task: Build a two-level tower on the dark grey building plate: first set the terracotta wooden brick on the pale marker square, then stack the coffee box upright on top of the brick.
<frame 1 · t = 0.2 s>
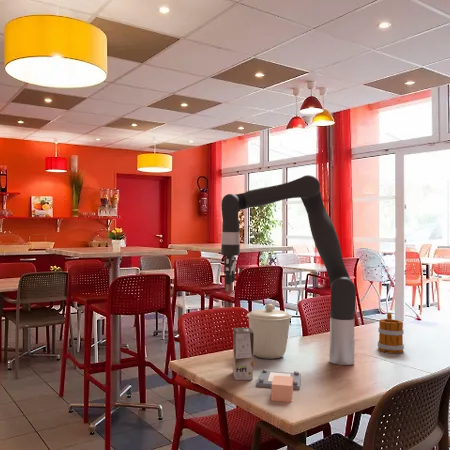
hand: (229, 283, 198), 29 cm above the table, tool pointing down, fingers open, 8 cm apart
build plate: (279, 381, 165), on the table
canister: (268, 356, 198), on the table
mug: (390, 349, 212), on the table
brick: (282, 396, 150), on the table
coffee box: (242, 376, 170), on the table
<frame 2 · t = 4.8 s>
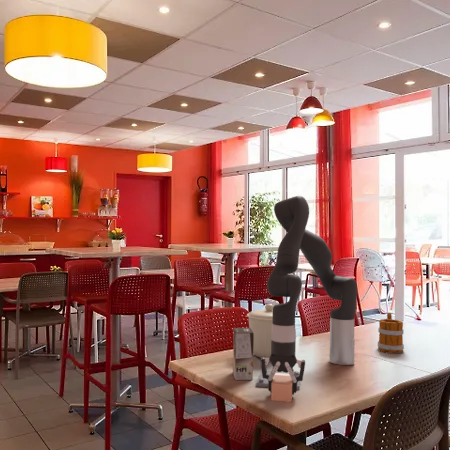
hand: (282, 392, 150), 1 cm above the table, tool pointing down, fingers closed on brick, 6 cm apart
brick: (282, 396, 150), on the table, touching gripper
everything else where it was.
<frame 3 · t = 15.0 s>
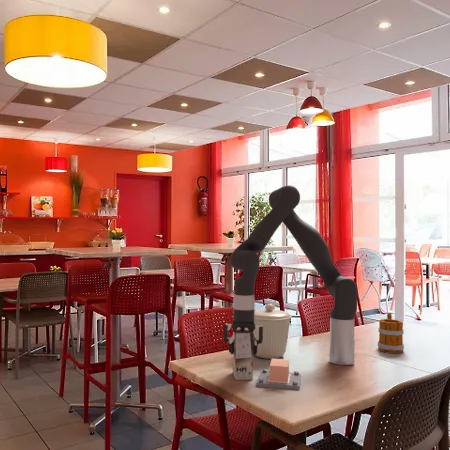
hand: (242, 354, 170), 7 cm above the table, tool pointing down, fingers closed on coffee box, 7 cm apart
brick: (279, 377, 165), point 1 cm above the table, touching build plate
coffee box: (242, 376, 170), on the table, touching gripper
everything else where it was.
when the fingers open (15 cm above the table, at t = 22.2 s): coffee box stays where it is, resting on brick.
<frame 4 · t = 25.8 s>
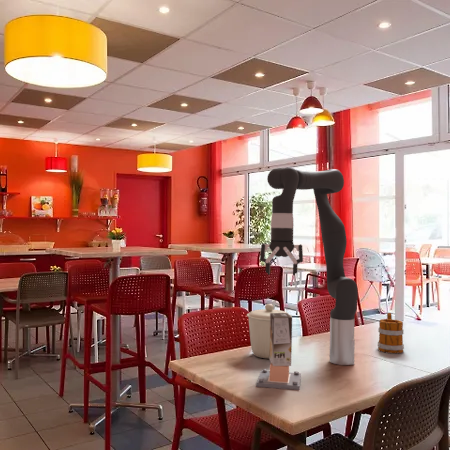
hand: (281, 274, 165), 36 cm above the table, tool pointing down, fingers open, 8 cm apart
brick: (279, 377, 165), point 1 cm above the table, touching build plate, coffee box
coffee box: (279, 363, 165), point 6 cm above the table, touching brick
everything else where it was.
at the end: brick 0.1 cm off-centre on the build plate, point 1.4 cm above the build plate's base; coffee box 0.1 cm off-centre on the brick, point 4.8 cm above the brick's base; coffee box tilted 0° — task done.
